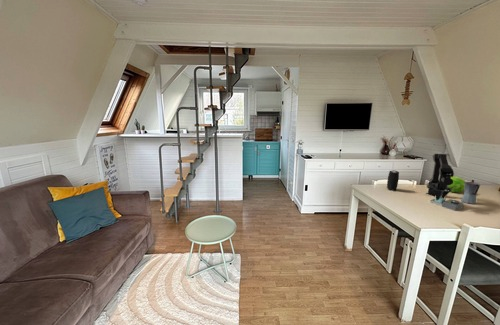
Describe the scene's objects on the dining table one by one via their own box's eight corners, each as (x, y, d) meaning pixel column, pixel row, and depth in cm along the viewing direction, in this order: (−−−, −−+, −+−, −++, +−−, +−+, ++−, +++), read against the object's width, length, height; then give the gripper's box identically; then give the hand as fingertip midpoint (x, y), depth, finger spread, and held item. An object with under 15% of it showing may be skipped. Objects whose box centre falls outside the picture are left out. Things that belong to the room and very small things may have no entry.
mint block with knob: (437, 202, 176) (438, 195, 174) (444, 204, 171) (445, 197, 170) (434, 203, 174) (435, 196, 172) (441, 205, 169) (442, 198, 168)
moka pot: (470, 199, 180) (475, 178, 176) (482, 206, 166) (488, 183, 162) (456, 198, 183) (461, 177, 179) (467, 205, 169) (473, 182, 165)
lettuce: (468, 194, 198) (475, 180, 194) (455, 195, 192) (462, 180, 188) (448, 187, 214) (454, 174, 209) (436, 187, 207) (441, 174, 203)
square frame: (436, 200, 179) (437, 194, 178) (462, 207, 164) (463, 201, 163) (428, 202, 174) (430, 196, 173) (455, 210, 159) (456, 203, 158)
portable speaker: (390, 187, 213) (393, 169, 209) (399, 190, 204) (402, 172, 200) (384, 188, 211) (386, 170, 206) (392, 191, 202) (395, 172, 198)
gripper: (437, 178, 180) (434, 194, 183) (426, 180, 172) (422, 197, 175) (453, 181, 170) (449, 198, 173) (442, 184, 162) (438, 202, 165)
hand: (439, 199), depth 172 cm, fingers open, 9 cm apart
